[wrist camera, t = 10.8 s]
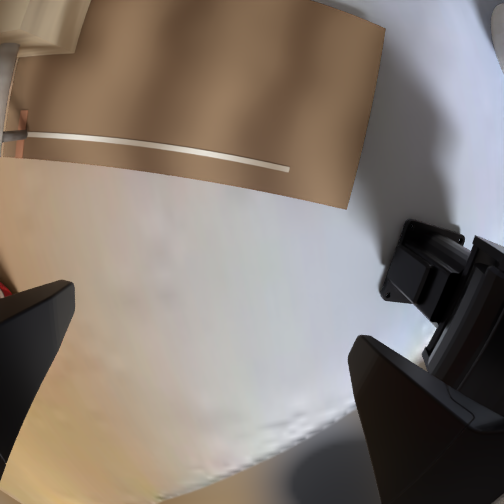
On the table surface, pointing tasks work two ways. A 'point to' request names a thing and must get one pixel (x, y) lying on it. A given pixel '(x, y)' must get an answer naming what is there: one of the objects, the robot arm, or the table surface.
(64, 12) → the beige block with rod
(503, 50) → the flag stand
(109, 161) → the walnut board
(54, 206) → the table surface
